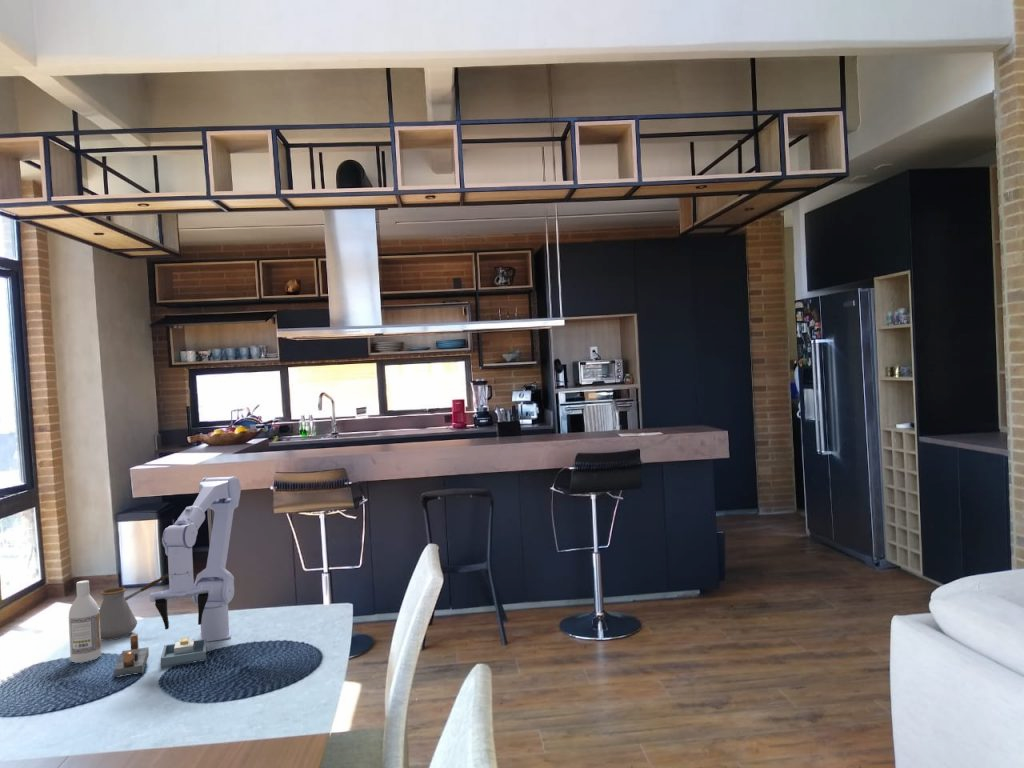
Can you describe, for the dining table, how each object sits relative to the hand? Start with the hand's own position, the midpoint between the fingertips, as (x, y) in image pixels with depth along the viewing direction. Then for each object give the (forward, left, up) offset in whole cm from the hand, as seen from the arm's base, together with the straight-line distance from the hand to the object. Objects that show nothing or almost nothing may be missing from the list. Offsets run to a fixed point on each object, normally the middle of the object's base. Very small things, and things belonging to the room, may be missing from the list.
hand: (183, 625), depth 195 cm
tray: (0, 0, -8) cm, 8 cm away
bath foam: (-12, -24, -8) cm, 28 cm away
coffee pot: (-33, -15, -8) cm, 37 cm away
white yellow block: (0, 0, -7) cm, 7 cm away
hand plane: (0, -12, -8) cm, 14 cm away
